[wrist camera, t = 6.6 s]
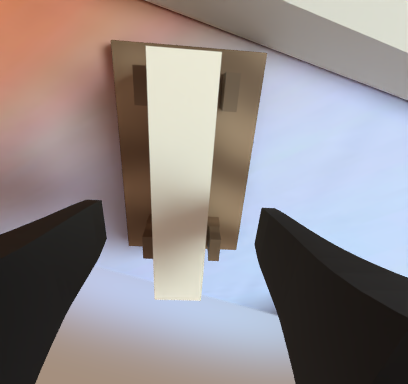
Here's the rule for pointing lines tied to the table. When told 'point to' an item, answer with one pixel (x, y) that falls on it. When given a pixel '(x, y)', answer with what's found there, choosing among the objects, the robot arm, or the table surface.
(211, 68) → the cream rectangular block
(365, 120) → the table surface
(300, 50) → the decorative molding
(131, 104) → the walnut rack
